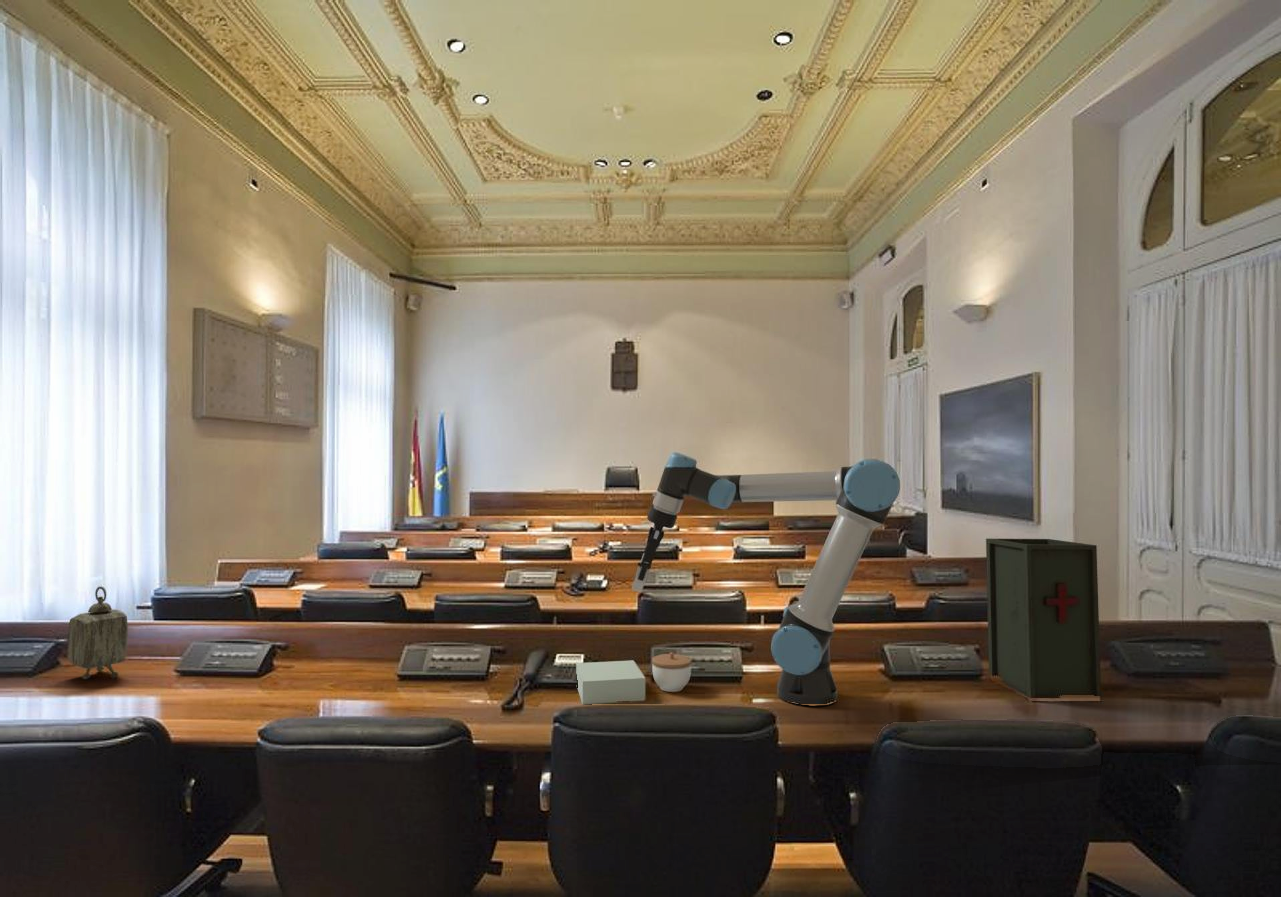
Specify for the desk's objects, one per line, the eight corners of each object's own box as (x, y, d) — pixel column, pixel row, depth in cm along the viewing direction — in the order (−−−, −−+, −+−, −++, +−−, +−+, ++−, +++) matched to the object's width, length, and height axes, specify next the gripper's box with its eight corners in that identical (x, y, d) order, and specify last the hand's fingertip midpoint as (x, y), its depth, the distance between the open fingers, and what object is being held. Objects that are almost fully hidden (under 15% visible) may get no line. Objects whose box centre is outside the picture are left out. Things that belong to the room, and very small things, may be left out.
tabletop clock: (125, 677, 174) (129, 587, 176) (83, 686, 167) (88, 591, 168) (105, 669, 182) (109, 582, 183) (64, 677, 174) (69, 586, 176)
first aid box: (1052, 679, 180) (1048, 538, 182) (1101, 701, 161) (1096, 545, 163) (988, 679, 179) (986, 538, 181) (1031, 701, 161) (1027, 545, 163)
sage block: (633, 682, 175) (633, 660, 176) (645, 702, 160) (645, 678, 160) (576, 685, 172) (576, 663, 172) (582, 706, 156) (582, 681, 157)
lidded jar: (688, 696, 163) (688, 659, 163) (648, 693, 165) (648, 657, 166) (693, 683, 173) (693, 649, 174) (655, 680, 176) (655, 646, 176)
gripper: (653, 498, 179) (629, 566, 181) (648, 512, 154) (620, 592, 156) (678, 507, 179) (653, 575, 181) (677, 523, 154) (648, 602, 156)
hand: (638, 583), depth 168 cm, fingers open, 13 cm apart
